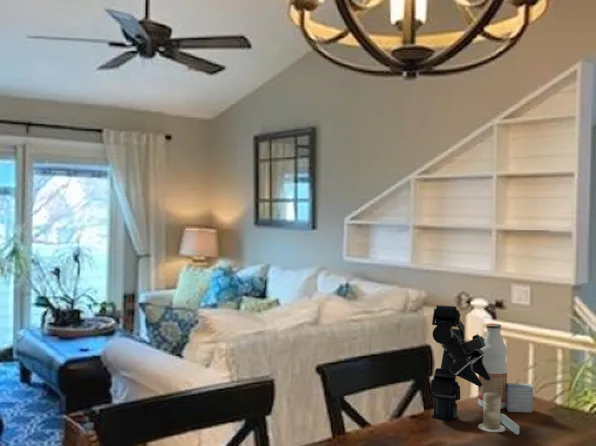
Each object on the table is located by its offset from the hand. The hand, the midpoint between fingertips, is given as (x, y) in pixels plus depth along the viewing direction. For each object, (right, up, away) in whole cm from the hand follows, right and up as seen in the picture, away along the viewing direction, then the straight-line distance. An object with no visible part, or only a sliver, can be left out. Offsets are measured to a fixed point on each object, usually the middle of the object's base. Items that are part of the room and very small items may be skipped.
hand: (485, 382), depth 205 cm
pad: (+2, -14, -1) cm, 14 cm away
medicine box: (+16, -14, +18) cm, 28 cm away
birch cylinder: (+2, -13, -1) cm, 13 cm away
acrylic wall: (+7, -14, 0) cm, 16 cm away
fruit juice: (+9, -14, +23) cm, 28 cm away
